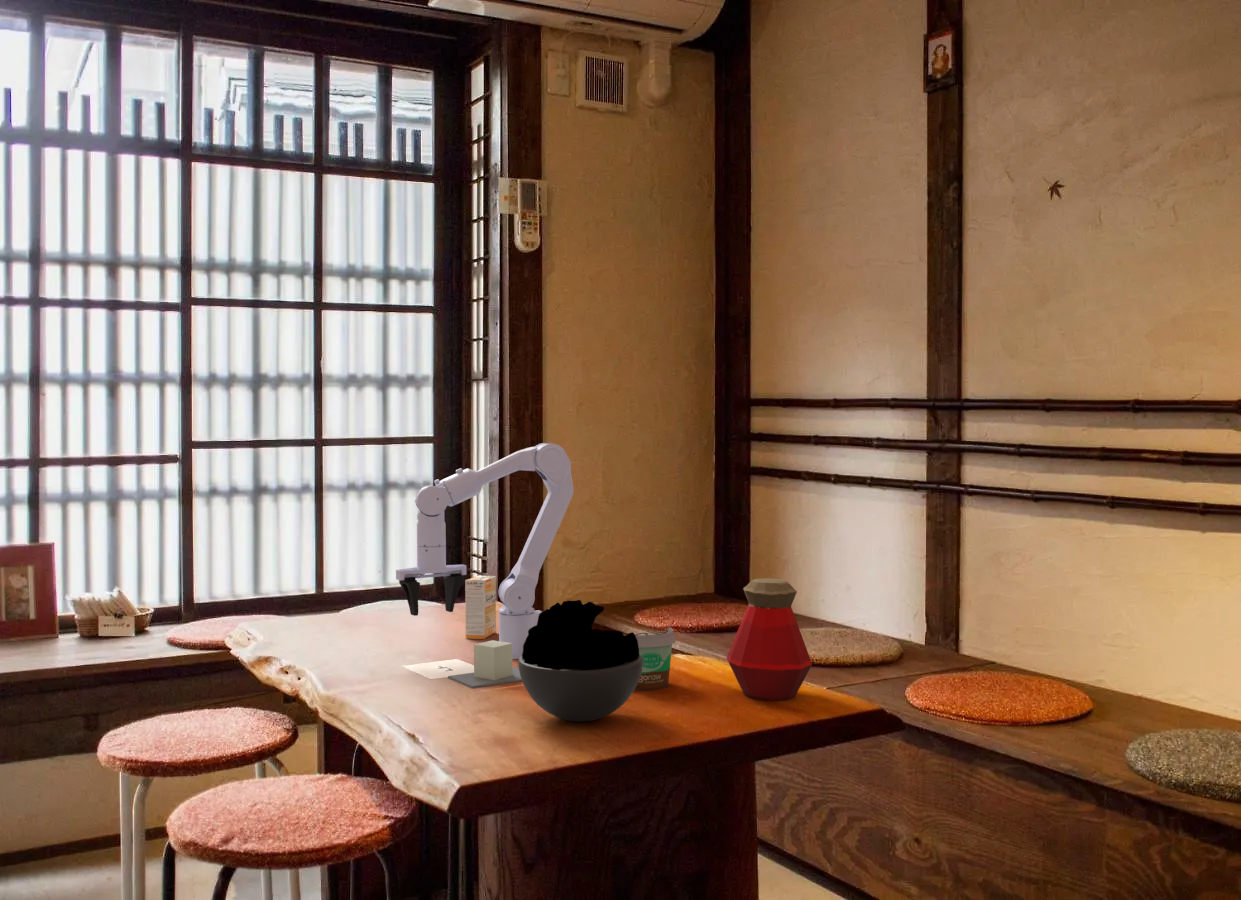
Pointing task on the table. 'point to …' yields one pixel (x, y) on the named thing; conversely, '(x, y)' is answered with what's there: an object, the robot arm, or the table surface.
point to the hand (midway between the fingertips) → (432, 613)
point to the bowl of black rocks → (578, 663)
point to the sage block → (493, 660)
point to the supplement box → (480, 606)
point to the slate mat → (481, 682)
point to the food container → (655, 659)
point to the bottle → (769, 643)
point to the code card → (441, 668)
